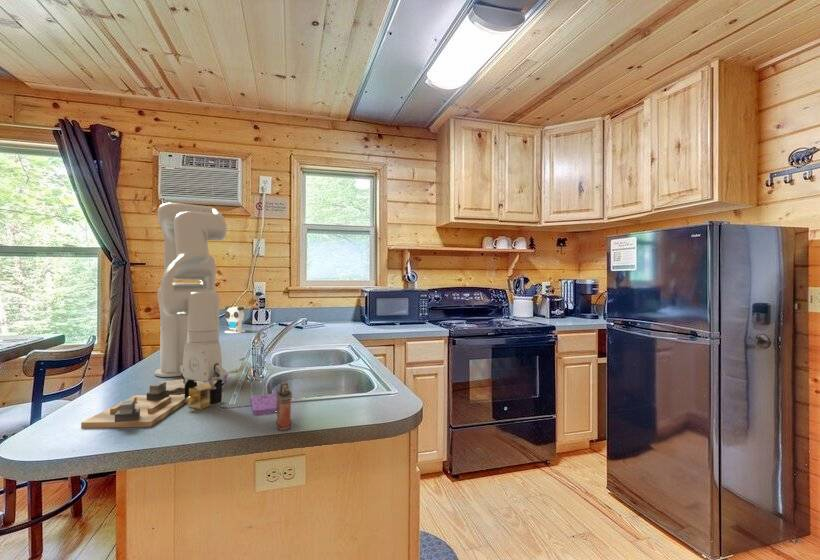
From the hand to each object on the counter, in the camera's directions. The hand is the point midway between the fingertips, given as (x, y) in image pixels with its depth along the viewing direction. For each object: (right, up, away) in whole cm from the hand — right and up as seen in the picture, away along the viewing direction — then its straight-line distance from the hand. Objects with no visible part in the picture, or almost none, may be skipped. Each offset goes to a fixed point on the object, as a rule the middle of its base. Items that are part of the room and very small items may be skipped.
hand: (202, 400), depth 106 cm
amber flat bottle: (+26, -2, -13) cm, 29 cm away
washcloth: (-12, -2, +14) cm, 19 cm away
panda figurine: (-48, +1, +128) cm, 137 cm away
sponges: (+17, -2, +1) cm, 17 cm away
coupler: (0, -2, 0) cm, 2 cm away
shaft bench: (-13, -1, -6) cm, 14 cm away
